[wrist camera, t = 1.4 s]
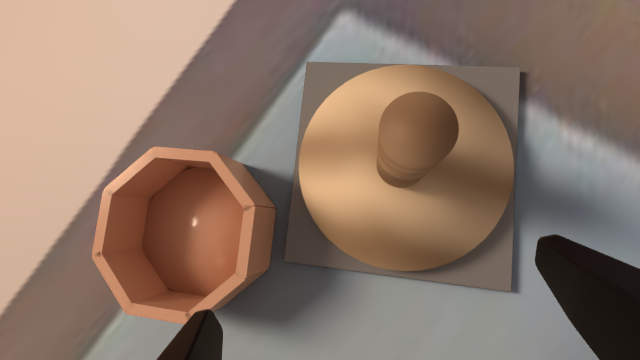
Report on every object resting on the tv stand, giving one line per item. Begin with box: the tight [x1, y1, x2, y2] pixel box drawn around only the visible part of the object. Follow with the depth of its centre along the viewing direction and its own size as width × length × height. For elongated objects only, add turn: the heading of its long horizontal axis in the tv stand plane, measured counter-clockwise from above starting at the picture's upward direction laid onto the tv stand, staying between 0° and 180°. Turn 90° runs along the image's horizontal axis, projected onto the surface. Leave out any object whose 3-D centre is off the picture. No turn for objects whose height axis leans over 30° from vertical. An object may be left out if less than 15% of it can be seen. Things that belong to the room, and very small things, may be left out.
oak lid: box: [299, 65, 514, 271], centre depth 18 cm, size 14×14×10 cm
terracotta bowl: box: [92, 147, 276, 324], centre depth 23 cm, size 11×11×4 cm
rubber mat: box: [284, 62, 520, 292], centre depth 23 cm, size 15×15×1 cm
